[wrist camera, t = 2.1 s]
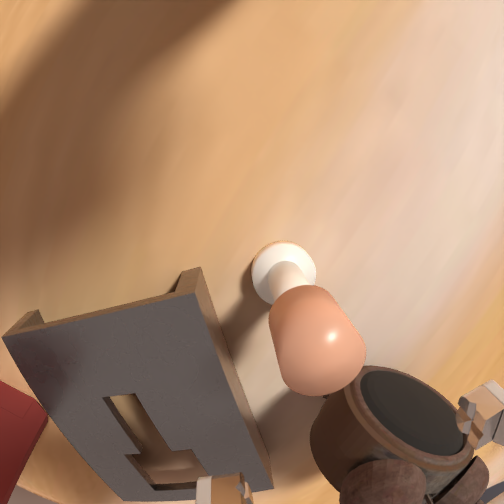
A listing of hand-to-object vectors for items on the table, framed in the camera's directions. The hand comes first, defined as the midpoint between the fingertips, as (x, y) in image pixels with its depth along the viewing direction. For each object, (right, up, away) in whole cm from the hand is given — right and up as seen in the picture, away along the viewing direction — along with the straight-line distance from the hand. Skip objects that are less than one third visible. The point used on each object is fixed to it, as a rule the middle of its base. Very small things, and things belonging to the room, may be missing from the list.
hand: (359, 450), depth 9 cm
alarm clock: (+8, -6, +21) cm, 23 cm away
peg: (-1, +5, +17) cm, 17 cm away
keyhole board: (-13, -8, +19) cm, 25 cm away
